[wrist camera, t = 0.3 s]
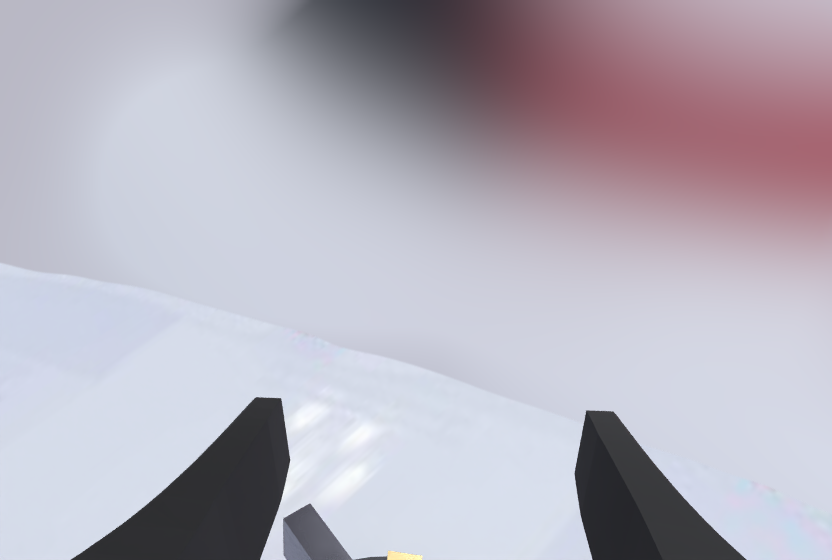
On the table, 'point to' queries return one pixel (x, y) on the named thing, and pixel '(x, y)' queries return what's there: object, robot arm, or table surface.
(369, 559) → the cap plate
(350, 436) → the table surface
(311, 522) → the tabbed brass dial
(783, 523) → the table surface
